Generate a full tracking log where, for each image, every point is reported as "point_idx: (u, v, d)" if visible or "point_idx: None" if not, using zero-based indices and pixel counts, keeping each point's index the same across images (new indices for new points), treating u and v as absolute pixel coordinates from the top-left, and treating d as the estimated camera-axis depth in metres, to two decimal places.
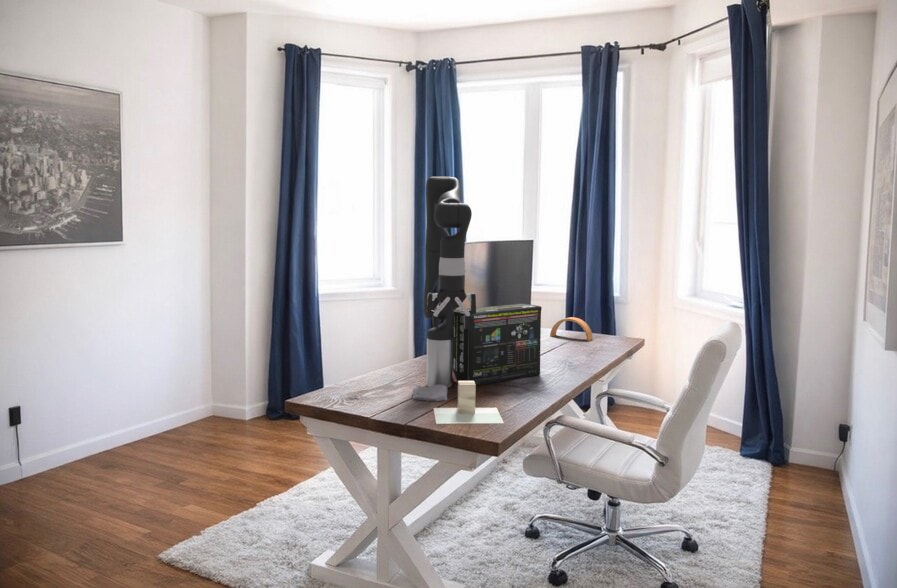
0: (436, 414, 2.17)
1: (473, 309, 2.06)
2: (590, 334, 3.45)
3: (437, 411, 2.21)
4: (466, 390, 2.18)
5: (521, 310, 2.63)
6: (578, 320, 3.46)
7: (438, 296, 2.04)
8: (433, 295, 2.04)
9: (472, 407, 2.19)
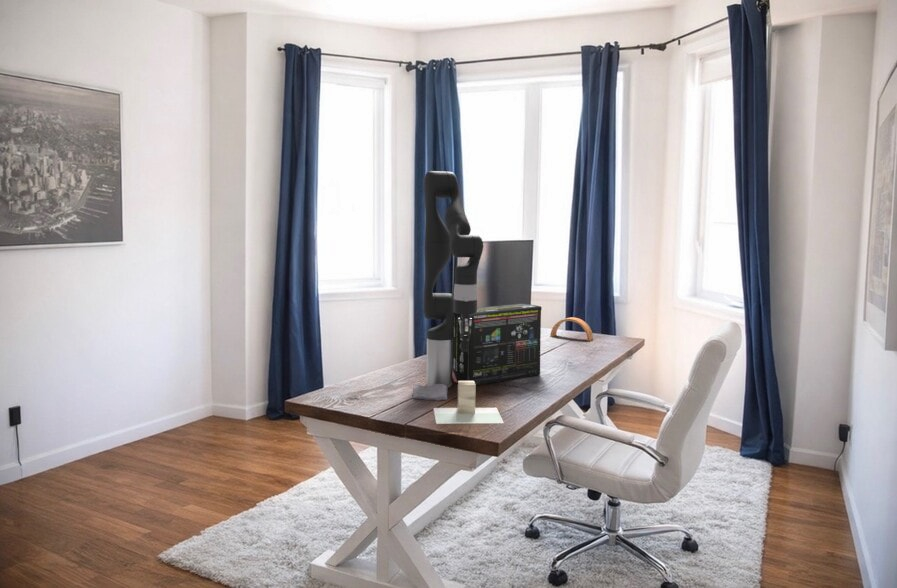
0: (436, 414, 2.17)
1: None
2: (591, 334, 3.45)
3: (437, 411, 2.21)
4: (466, 390, 2.18)
5: (521, 310, 2.63)
6: (578, 320, 3.46)
7: (469, 322, 2.24)
8: (467, 325, 2.23)
9: (472, 407, 2.19)
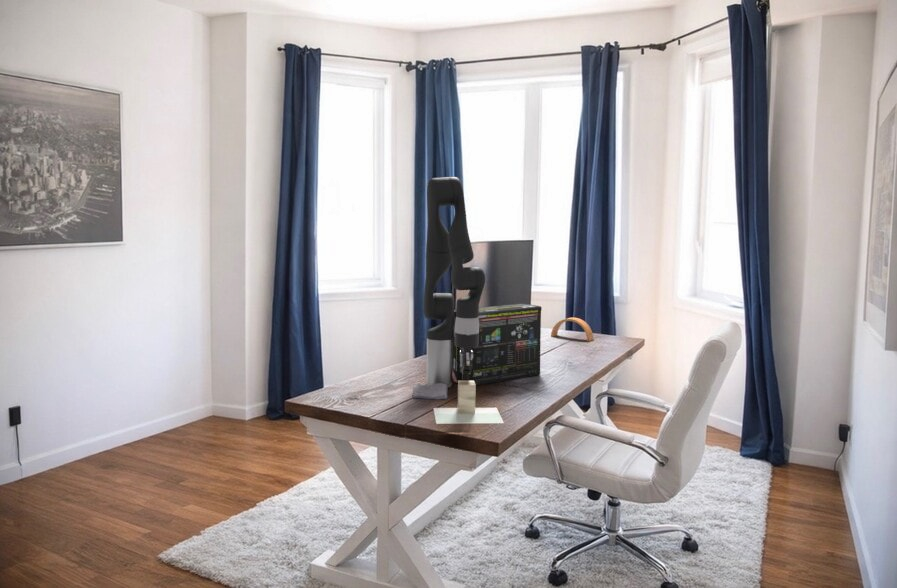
0: (436, 414, 2.17)
1: None
2: (591, 334, 3.44)
3: (437, 411, 2.21)
4: (466, 390, 2.18)
5: (521, 310, 2.63)
6: (579, 320, 3.45)
7: (470, 356, 2.20)
8: (469, 359, 2.19)
9: (472, 407, 2.19)
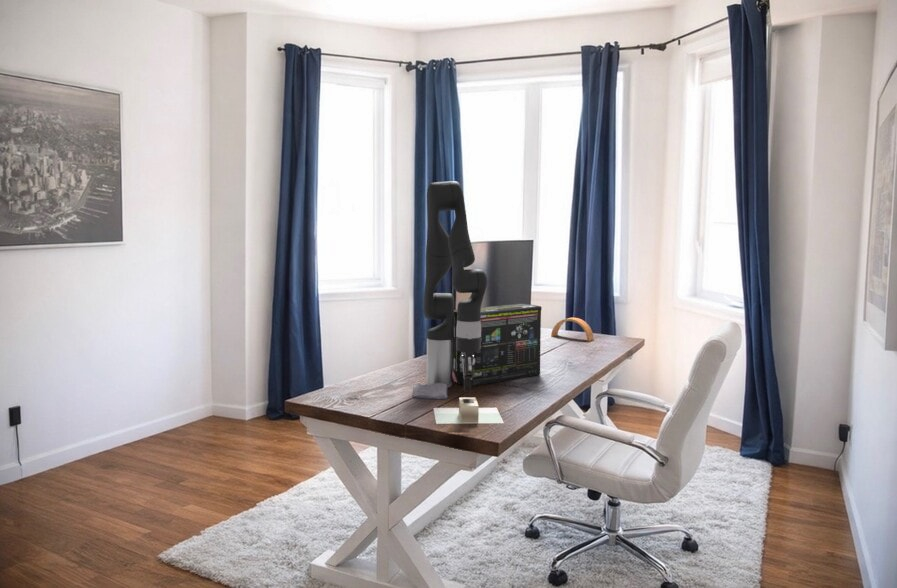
0: (436, 414, 2.17)
1: None
2: (591, 334, 3.44)
3: (437, 411, 2.21)
4: None
5: (521, 310, 2.63)
6: (579, 320, 3.45)
7: (472, 360, 2.13)
8: (471, 364, 2.12)
9: None
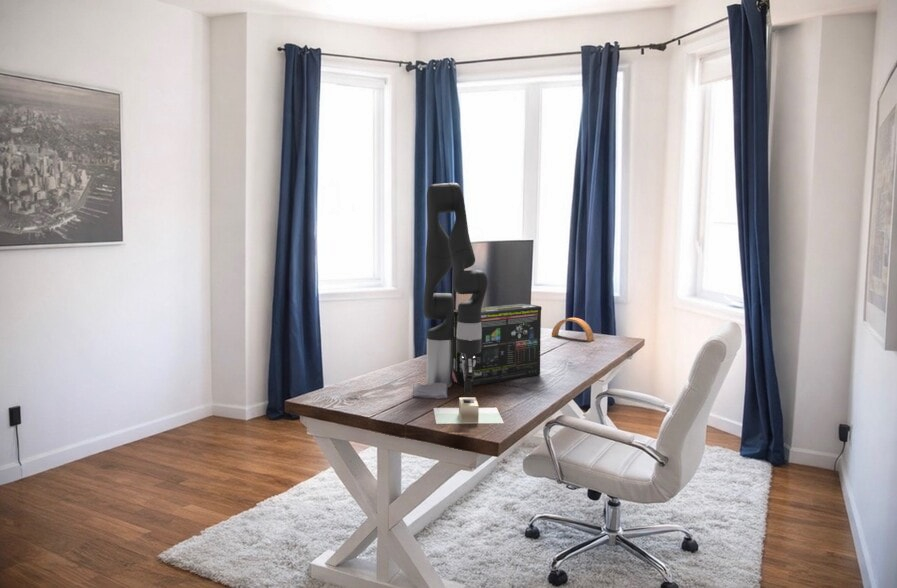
0: (436, 414, 2.17)
1: None
2: (591, 335, 3.43)
3: (437, 411, 2.21)
4: None
5: (521, 310, 2.63)
6: (579, 320, 3.45)
7: (472, 362, 2.12)
8: (471, 365, 2.11)
9: None
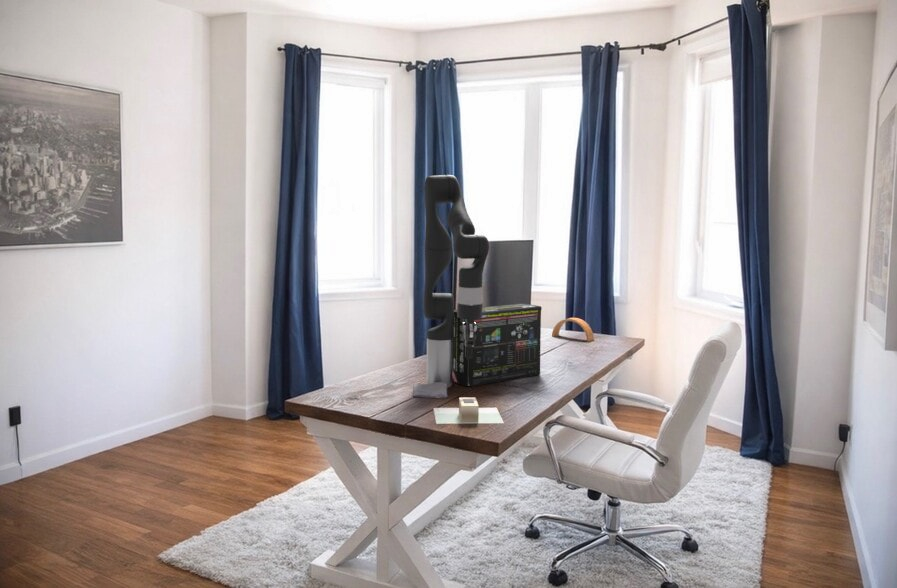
0: (436, 414, 2.17)
1: None
2: (591, 335, 3.43)
3: (437, 411, 2.21)
4: None
5: (521, 310, 2.63)
6: (579, 320, 3.44)
7: (474, 327, 2.11)
8: (472, 330, 2.10)
9: None
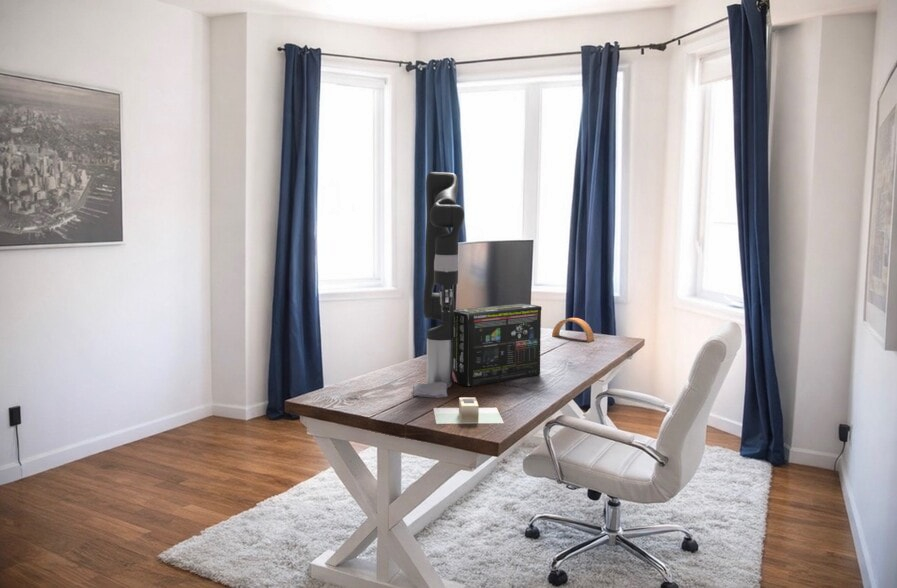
0: (436, 414, 2.17)
1: None
2: (591, 335, 3.42)
3: (437, 411, 2.21)
4: None
5: (521, 310, 2.63)
6: (579, 321, 3.44)
7: (449, 293, 2.20)
8: (448, 296, 2.19)
9: None
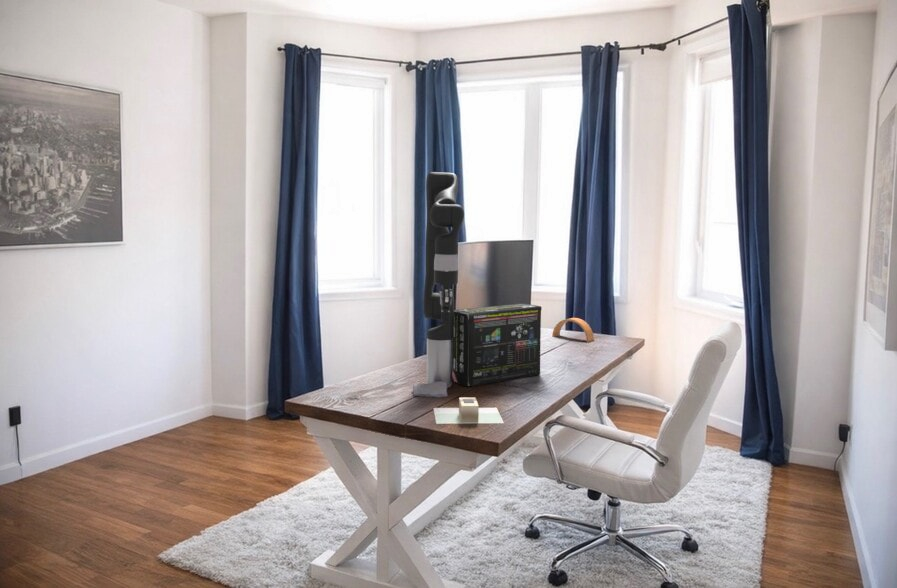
0: (436, 414, 2.17)
1: None
2: (591, 335, 3.42)
3: (437, 411, 2.21)
4: None
5: (521, 310, 2.63)
6: (579, 321, 3.44)
7: (449, 292, 2.20)
8: (448, 295, 2.19)
9: None
